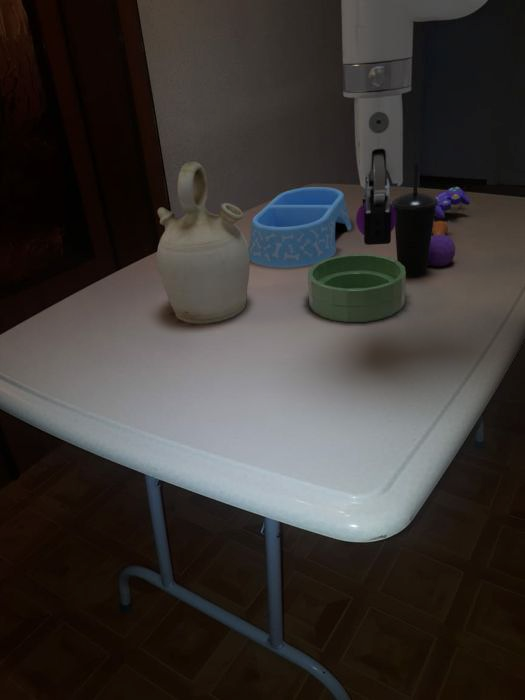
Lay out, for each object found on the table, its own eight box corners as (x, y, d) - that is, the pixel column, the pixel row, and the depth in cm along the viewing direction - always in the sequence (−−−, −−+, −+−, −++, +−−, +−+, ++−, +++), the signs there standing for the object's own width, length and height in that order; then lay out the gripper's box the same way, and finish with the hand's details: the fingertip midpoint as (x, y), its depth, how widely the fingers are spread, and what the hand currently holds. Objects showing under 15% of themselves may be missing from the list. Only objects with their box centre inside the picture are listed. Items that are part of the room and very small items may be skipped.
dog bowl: (324, 272, 107) (323, 230, 103) (234, 268, 113) (229, 228, 109) (358, 219, 134) (358, 184, 130) (284, 218, 141) (281, 184, 136)
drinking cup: (406, 286, 98) (410, 170, 88) (382, 272, 104) (383, 162, 94) (442, 276, 100) (450, 162, 90) (416, 264, 106) (421, 155, 96)
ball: (394, 230, 73) (395, 192, 71) (397, 243, 69) (398, 203, 66) (355, 232, 74) (355, 195, 71) (356, 245, 70) (356, 206, 67)
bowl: (400, 284, 99) (401, 252, 96) (407, 324, 86) (409, 289, 83) (313, 286, 102) (311, 255, 99) (306, 326, 88) (304, 291, 85)
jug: (271, 298, 99) (257, 152, 86) (220, 337, 88) (196, 175, 75) (203, 287, 106) (182, 150, 94) (148, 321, 95) (116, 172, 83)
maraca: (457, 217, 116) (459, 242, 99) (450, 245, 119) (450, 274, 101) (428, 212, 117) (425, 236, 100) (422, 239, 120) (417, 267, 103)
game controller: (444, 210, 121) (416, 193, 128) (446, 240, 127) (419, 221, 134) (482, 189, 122) (452, 173, 129) (482, 219, 128) (453, 202, 135)
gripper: (420, 82, 54) (413, 258, 63) (404, 70, 69) (400, 214, 78) (342, 90, 56) (346, 261, 65) (343, 76, 70) (346, 218, 79)
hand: (376, 234), depth 71 cm, fingers closed on ball, 4 cm apart
